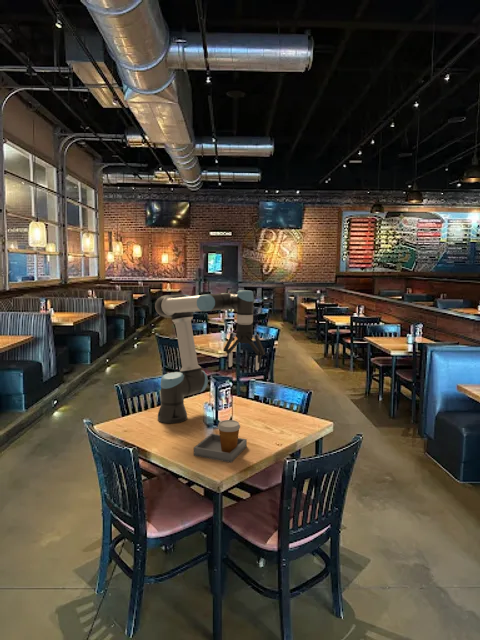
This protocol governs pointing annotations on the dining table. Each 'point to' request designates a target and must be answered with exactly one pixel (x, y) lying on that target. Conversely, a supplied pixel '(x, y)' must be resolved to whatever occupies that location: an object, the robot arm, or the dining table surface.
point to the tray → (218, 449)
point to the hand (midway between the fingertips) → (243, 368)
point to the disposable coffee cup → (228, 435)
